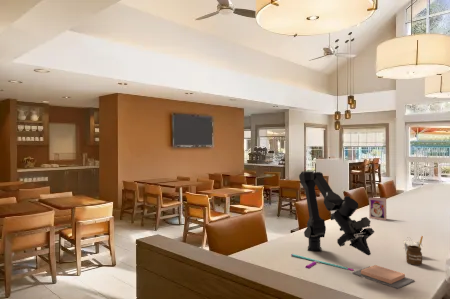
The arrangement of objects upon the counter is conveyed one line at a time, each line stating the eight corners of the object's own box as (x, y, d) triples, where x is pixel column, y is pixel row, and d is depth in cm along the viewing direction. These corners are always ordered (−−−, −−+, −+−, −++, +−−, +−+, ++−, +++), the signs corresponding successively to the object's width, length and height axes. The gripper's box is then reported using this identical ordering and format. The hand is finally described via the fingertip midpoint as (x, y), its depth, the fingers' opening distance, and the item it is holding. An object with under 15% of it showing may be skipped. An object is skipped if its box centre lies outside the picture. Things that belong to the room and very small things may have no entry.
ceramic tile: (360, 270, 127) (390, 279, 117) (375, 264, 133) (404, 273, 123) (360, 274, 127) (391, 284, 117) (375, 268, 133) (404, 278, 123)
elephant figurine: (417, 252, 155) (416, 237, 155) (424, 258, 146) (424, 243, 146) (399, 251, 157) (399, 236, 157) (406, 257, 148) (405, 242, 148)
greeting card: (368, 218, 235) (368, 197, 235) (373, 216, 240) (373, 196, 240) (385, 220, 227) (385, 199, 227) (389, 219, 232) (389, 198, 232)
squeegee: (280, 258, 145) (292, 253, 152) (280, 262, 145) (292, 256, 152) (344, 275, 125) (353, 268, 133) (344, 279, 125) (353, 272, 133)
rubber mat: (352, 273, 129) (352, 272, 129) (369, 267, 136) (369, 266, 136) (397, 288, 114) (397, 287, 114) (414, 281, 121) (414, 279, 121)
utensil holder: (404, 260, 144) (404, 233, 144) (420, 261, 142) (420, 234, 143) (408, 264, 139) (407, 236, 139) (424, 266, 137) (424, 237, 137)
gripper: (343, 213, 129) (369, 247, 120) (369, 208, 139) (395, 239, 130) (327, 229, 135) (350, 263, 126) (353, 223, 146) (377, 254, 136)
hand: (369, 254), depth 129 cm, fingers closed
